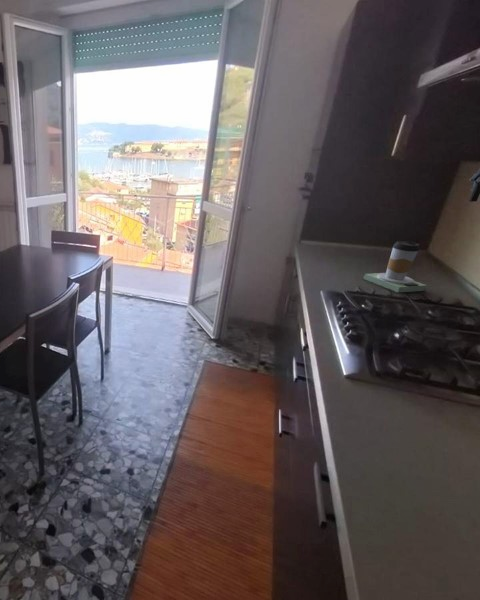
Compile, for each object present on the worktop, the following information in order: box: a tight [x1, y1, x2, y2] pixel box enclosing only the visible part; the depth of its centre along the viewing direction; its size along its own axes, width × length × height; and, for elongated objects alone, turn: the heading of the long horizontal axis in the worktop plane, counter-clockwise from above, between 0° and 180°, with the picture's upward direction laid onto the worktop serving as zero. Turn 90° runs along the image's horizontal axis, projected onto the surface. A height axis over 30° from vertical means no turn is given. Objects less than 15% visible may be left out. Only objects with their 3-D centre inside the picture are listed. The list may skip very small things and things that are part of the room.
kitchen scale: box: [363, 272, 428, 294], centre depth 152 cm, size 16×13×3 cm
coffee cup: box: [385, 240, 420, 280], centre depth 149 cm, size 8×8×15 cm
